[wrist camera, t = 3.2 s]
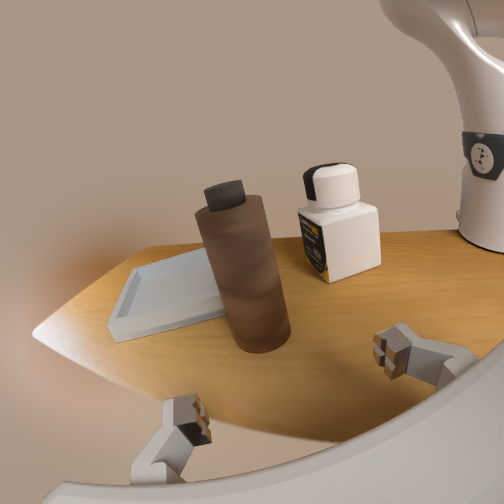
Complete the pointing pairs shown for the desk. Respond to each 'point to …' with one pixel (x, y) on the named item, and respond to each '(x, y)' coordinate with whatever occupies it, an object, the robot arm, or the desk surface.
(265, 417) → the desk surface
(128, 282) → the pale dish
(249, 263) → the walnut pepper mill
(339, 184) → the medicine bottle
